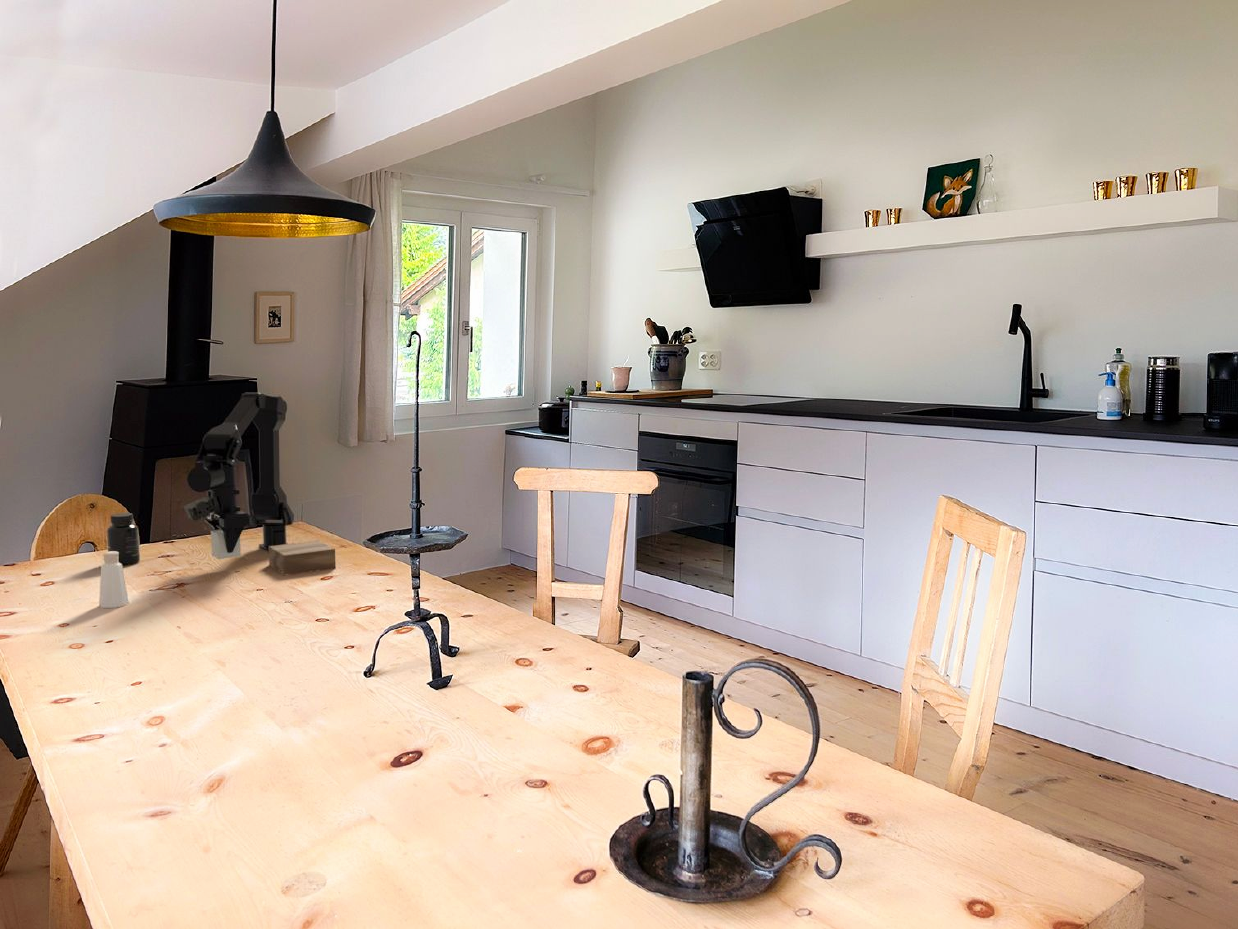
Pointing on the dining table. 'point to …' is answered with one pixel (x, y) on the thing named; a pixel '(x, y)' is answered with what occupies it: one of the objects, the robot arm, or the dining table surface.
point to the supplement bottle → (124, 538)
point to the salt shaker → (112, 582)
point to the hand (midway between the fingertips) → (226, 550)
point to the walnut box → (302, 557)
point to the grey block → (222, 546)
